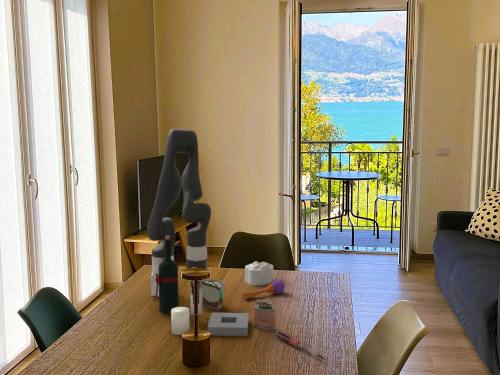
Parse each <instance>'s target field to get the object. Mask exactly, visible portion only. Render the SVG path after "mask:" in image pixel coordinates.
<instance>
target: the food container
mask: <svg viewBox="0 0 500 375" xmlns="http://www.w3.org/2000/svg"><path fill="white" fill-rule="evenodd" d="M202 285H203V306H205V307H207V308H209V309H210V308H211V309H214V310H216V311H220V310H221V309H222V308H223V305H224V304H223V301H224V293H225V292H224V291H225V290H226V284H225V282H224V281H223V280H220V279H214V278H211V279H210V278H207V279H202Z"/></svg>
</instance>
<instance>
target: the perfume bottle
mask: <svg viewBox="0 0 500 375" xmlns="http://www.w3.org/2000/svg"><path fill="white" fill-rule="evenodd" d="M253 312H254V316H253V317H254V318H253V320H254V322H253V323H254V324H253V327H254V328H255V329H260V330H267V331H268V330H269V331H274V330H276V308H275V307H274V306H273V302H272V301H268V300H264V301H263V300H258V299H256V300H255V305H254V306H253Z"/></svg>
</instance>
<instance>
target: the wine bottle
mask: <svg viewBox="0 0 500 375" xmlns="http://www.w3.org/2000/svg"><path fill="white" fill-rule="evenodd" d="M155 281H156V283H157V284H156V295H155V296H154V297H153V301H152V302H154V304H155V302H156V301H157V298H158V311H159V314H160V313H161V314H164V315H171V310H172V309H173V308H176V307H180V305H179V304H180V302H179V300H180V299H179V298H180V297H179V266H178V264H177V262H176V261H175V260H174V261H173V260H171V239H170V236H165V260H164V261H162V262H161V263H160V264H159V275H158V274H157V273H156V277H155ZM158 284H159V297H157V293H158Z"/></svg>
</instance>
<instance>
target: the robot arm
mask: <svg viewBox="0 0 500 375" xmlns="http://www.w3.org/2000/svg"><path fill="white" fill-rule="evenodd" d="M198 141H199V140H198V135H197V133H196V132H195V131H194V130H193V129H192V130H191V129H182V128H173V129H170V130H169V131H168V134H167V139H166V143H165V151H164V152H165V153H164V157H163V158H164V159H163V163H162V169H161V173H160V176H159V181H158V186H157V189H156V196H155V198H154V199H155V200H154V203H153V204H154V205H153V207H152V211H151V212H150V216H149V219H148V222H147V228H146V234H147V237H148V239H149V240H150V241H153V242H157V241H160V243H159V244H157V245H156V246H155V247H153V248H152V250H151V274H150V284H151V287H150V288H151V292H150V293H151V295H150V296H151V297H155V295H156V284H157V283H156V281H155V277H156V273H157V274H158V275H159V264H160V263H161V262H162V261H164V260H165V236H170V239H171V260H173V261H175V259H174V257H175V256H174V255H175V253H174V252H175V249H176V248H175V247H176V246H175V245H176V243H175V242H176V226H175V222H174V220H173V219H172V218H171V217H165V216H166V213H168V211H169V210H170V209H171V207H172V206H174V204H175V203H176V202H177V201H178V199H179V196H180V194H181V190H182V193H183V205H182V210H181V217H182V220H183V221H184V222H185V223H188V224H193V223H194V224H197V223H198V225H197V226H195V227H193V228H191V229H188V230H187V233H186V256H185V257H186V258H185V259H186V264H185V265H186V268H185V269H186V270H187V269H189V268H192V267H197V268H202V269H206V270H207V268H208V250H207V249H208V248H207V233H208V229H209V228H208V227H209V224H210V221H211V217H212V209H211V207H210V204H208V203H206V202H197V203H195V202H196V201H199V200H201V199H202V197H203V188H202V183H201V177H200V169H199V165H200V164H199V163H200V162H199V143H198ZM176 154H188V162H187V164H186V166H185V168H184V170H183V172H182V175H181V174H180V171H179V169H178V166H177V165H176ZM192 202H194V203H192ZM202 280H203V279H202ZM202 280H200V281H198V285H199V286H198V304H199V288H200V287H201V285H202ZM191 293H192V294H193V304H194V281H191V280H190V294H191ZM157 298H159V284H158V293H157Z"/></svg>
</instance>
